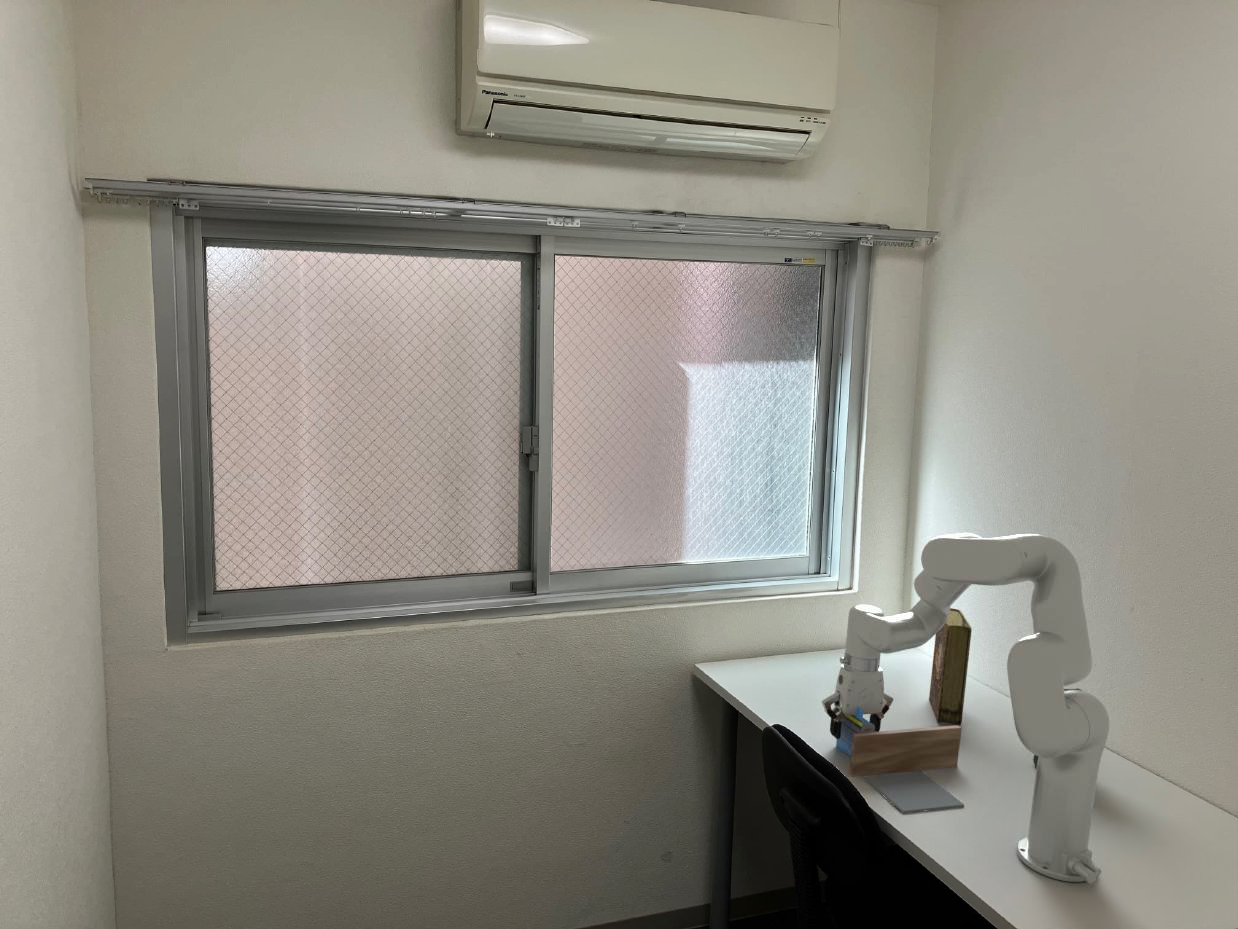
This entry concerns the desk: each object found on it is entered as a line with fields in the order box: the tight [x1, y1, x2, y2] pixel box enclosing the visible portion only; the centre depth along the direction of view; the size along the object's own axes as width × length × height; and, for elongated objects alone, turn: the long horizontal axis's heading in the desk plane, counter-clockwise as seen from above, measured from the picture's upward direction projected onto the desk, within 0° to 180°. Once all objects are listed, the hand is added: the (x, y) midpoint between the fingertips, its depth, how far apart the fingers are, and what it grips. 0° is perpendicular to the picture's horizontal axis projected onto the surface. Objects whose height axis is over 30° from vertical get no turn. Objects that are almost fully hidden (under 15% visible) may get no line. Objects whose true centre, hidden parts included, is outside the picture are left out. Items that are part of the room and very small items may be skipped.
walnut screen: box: [848, 724, 962, 777], centre depth 188 cm, size 1×26×9 cm, turn 106°
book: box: [928, 607, 973, 726], centre depth 220 cm, size 16×6×25 cm, turn 168°
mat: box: [863, 770, 965, 814], centre depth 179 cm, size 14×14×1 cm
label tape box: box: [835, 707, 875, 757], centre depth 195 cm, size 9×4×12 cm, turn 22°
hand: (854, 735), depth 195 cm, fingers open, 9 cm apart
